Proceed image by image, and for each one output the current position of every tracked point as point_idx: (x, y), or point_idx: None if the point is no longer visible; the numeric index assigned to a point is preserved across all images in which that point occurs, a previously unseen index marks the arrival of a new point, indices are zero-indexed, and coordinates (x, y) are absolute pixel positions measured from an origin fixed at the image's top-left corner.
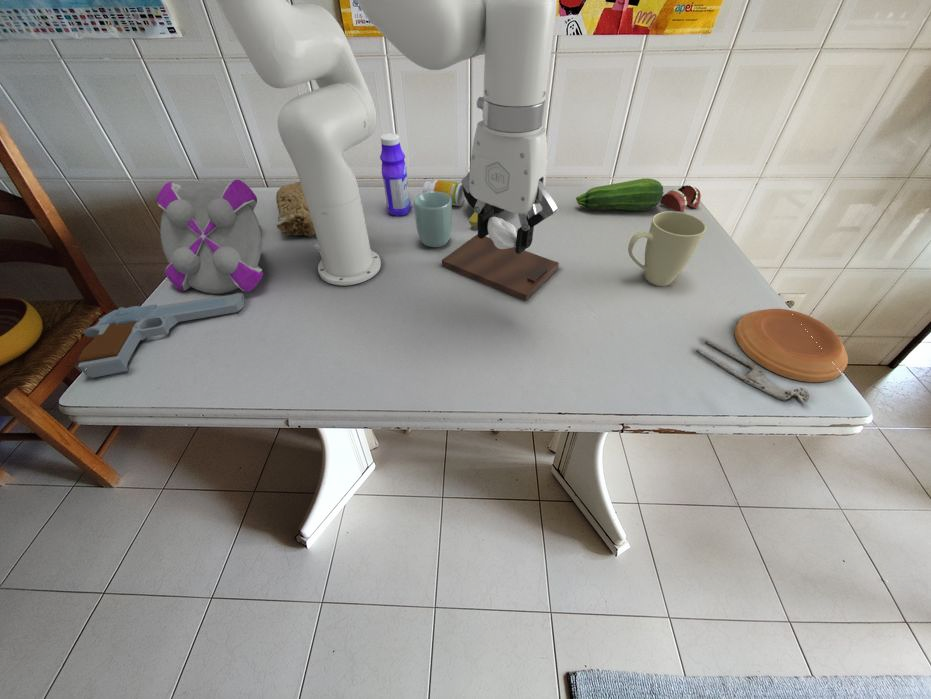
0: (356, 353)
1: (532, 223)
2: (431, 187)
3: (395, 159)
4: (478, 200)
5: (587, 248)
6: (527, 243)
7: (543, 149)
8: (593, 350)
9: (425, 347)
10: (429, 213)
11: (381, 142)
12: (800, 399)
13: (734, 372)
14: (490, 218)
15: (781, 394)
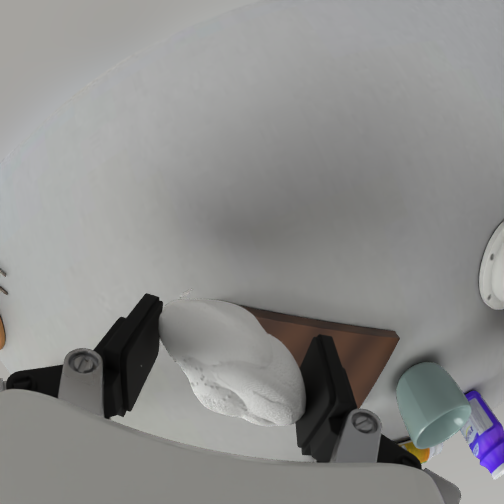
0: (431, 70)
1: (55, 376)
2: (433, 449)
3: (494, 451)
4: (371, 460)
5: (183, 432)
6: (114, 328)
7: None
8: (78, 224)
9: (344, 106)
10: (446, 402)
11: None
12: None
13: None
14: (295, 408)
15: None
